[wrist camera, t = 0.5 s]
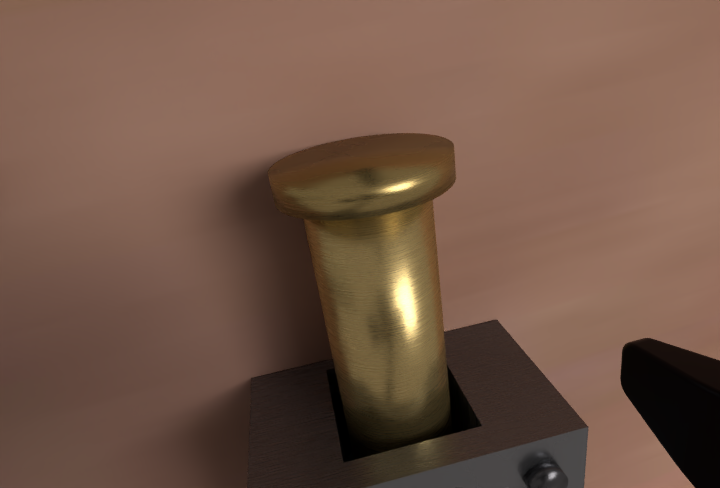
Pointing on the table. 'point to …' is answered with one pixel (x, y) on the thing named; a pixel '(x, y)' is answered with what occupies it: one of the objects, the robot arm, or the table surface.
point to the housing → (432, 457)
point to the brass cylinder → (377, 277)
